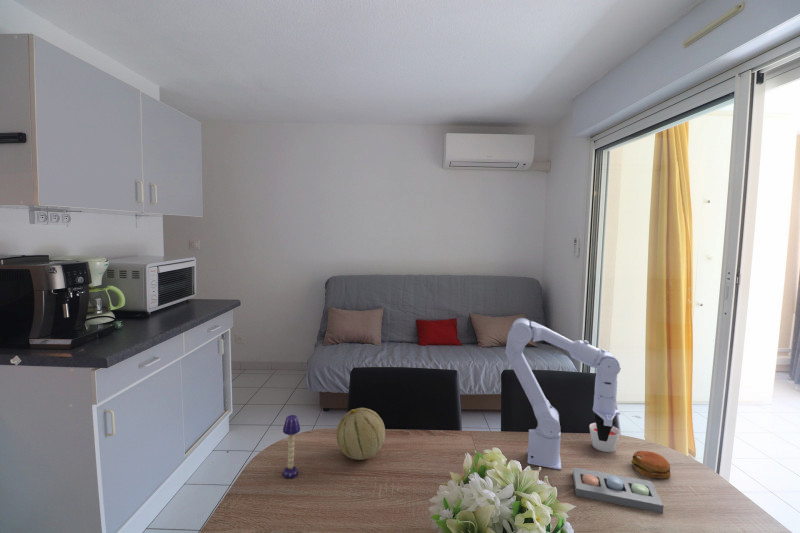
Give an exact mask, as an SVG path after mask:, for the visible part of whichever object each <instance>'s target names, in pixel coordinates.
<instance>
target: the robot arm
mask: <svg viewBox="0 0 800 533" xmlns="http://www.w3.org/2000/svg"><path fill="white" fill-rule="evenodd" d="M508 330H509V332H508V334H507V338H506V339H507V340H506V345H505V346H506V348H505V355H506V357H507V360H508V362H509V364H510V366H511V368H512V370H513V371H514V373H515V375H516V378H517V380H518V382H519V383H520V385H521V387H522V389H523V391H524V393H525V395H526V396H527V399H528V401H529V403H530V404H531V407H532V410H533V413H534V416H535V419H536V421H537V426H536V427H535V428H533V429H532V428H531V429H528V445H527V447H526V454H527V464H529V465H533V466H539V467H545V468H550V469H555V470H562V462H561V455H560V453H561V439H562V438H561V437H562V436H561V434H562V433H561V430H562V429H561V425H560V413H559V411H558V410H557V409H556V408H555V407H554V406H552V405H551V403H550V401H549V400H548V399H547V397H546V396H545V394H544V391H543V390H542V387H541V386H540V384H539V382H538V380H537V378H536V375H535V374H534V373H533V370H532V368H531V366H530V365H529V364H530V363H529V362H528V361H527V359H526V356H525V355H524V350H525V347H526V346H527V344H528V343H529V342H530V341H531V340H532V342H533V343H535V342H540V341H545V342H546V343H548V344H551V345H554V346H556V347H558V348H561V349H563V350H565V351H567V352H568V353H569V356H570V357H571V358H572V359H574V360H575V361H578V362H581V363H582V364H585V365H586V366H589V367H590V368H595V370H596V372H595V373H596V374H595V379H594V395H593V406H592V411H593V412H592V416H593V419H594V421H595V423H596V426H597V434H598V438H599V440H600V441H606V442H607V440H608V437H609V433H610V431H611V429H612V427H613V426H614V427H615V425H616V422H617V421H616V418H615V417H616V415H619V416H620V414H621V411H620V410H619V409H617V408H616V407H617V406H616V405H617V392H618V375H619V373H620V372H621V369H622V368H621V366H620V365H621V364H620V362H619V361H618V359H617V358H616V356H615V355H614V354H613V353H611V352H610V351H609V350H605V348H601V349H600V348H597V347H595V346H593V345H591V344H590V342H589V341H588V340H585V339H584V340H581V339H578V340H574V341H573V340H571V339H569V338H567V337H565V336H563V335H561V334H560V333H558V332H556V331H553V330H552V329H550V328H548V327H546V326H545V325H542V324H540V323H537V322H535V321H533V320H529V319H528V318H525V317H518V318H517V319H515V320H514V321H513V322H512V324H511V326H510V328H509V329H508Z"/></svg>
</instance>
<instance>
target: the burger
mask: <svg viewBox="0 0 800 533" xmlns="http://www.w3.org/2000/svg"><path fill="white" fill-rule="evenodd" d="M630 461H631V464H632V465H633V469H634V470H635V471H636V472H637V473H638V474H640V475H643V476H644V477H647V478H650V479H651V478H653V479H661V480H662V479H670V477H671V476H672V475H671V464H670V463H669V461H668V460H667V459H666V458H665V457H664V455H663V456H662V455H661V454H659V453H657V452H654V451H648V450H638V451H635V452H634V453H633V455H632V460H630Z"/></svg>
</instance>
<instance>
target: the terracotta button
mask: <svg viewBox="0 0 800 533" xmlns="http://www.w3.org/2000/svg"><path fill="white" fill-rule="evenodd" d="M581 482H582V483H584V484H589V485H594V486H599V485H598V483H599V480H598V478H597V477H595V476H593V475H589V474H585V475H583V477H582V481H581Z"/></svg>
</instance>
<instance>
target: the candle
mask: <svg viewBox="0 0 800 533" xmlns="http://www.w3.org/2000/svg"><path fill="white" fill-rule="evenodd" d="M589 433H590V434H589V435H590V440H591V445H592V447H593V448H594V449H595V450H598V451H600V452H603V453H614V452H615V451H616V449H617V446H618V442H619V440H620V439H619V438H620V435H621V431H620V429H619V428H617V427H616V426H615V425H614V426H613V427H612V429H611V431H610V433H609V437H608V440H607V442H606V441H600V440H599V438H598V434H597V426H596V422H593V423H590V424H589Z"/></svg>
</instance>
